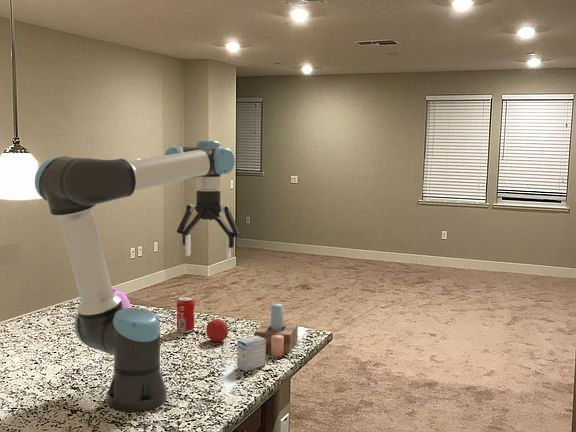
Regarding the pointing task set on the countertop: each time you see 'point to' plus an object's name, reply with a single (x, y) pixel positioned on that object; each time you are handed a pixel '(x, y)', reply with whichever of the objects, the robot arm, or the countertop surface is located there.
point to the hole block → (288, 333)
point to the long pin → (277, 317)
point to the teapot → (122, 298)
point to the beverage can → (185, 314)
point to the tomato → (217, 330)
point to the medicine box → (251, 353)
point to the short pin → (277, 345)
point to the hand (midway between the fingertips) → (208, 256)
